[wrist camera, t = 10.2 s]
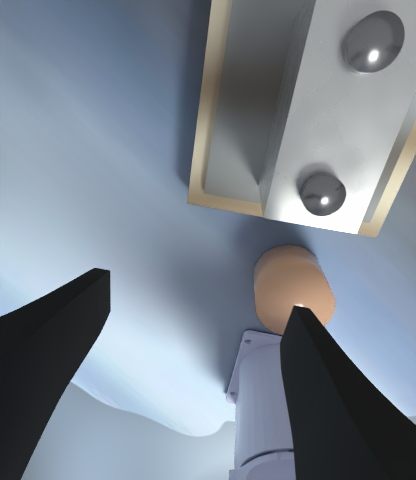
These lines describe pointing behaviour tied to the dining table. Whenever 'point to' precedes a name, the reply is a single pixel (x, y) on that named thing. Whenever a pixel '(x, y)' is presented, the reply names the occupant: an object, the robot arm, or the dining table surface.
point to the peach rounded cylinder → (290, 286)
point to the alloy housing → (338, 110)
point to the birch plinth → (261, 111)
